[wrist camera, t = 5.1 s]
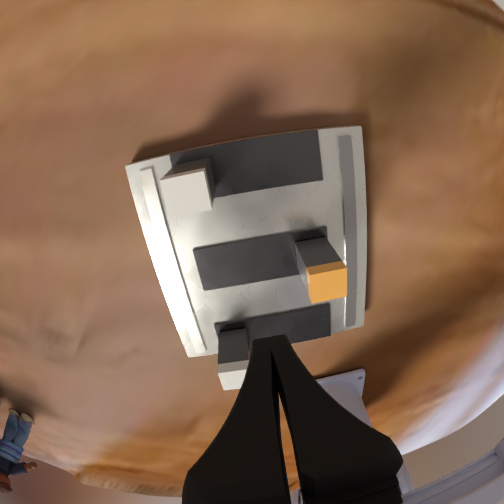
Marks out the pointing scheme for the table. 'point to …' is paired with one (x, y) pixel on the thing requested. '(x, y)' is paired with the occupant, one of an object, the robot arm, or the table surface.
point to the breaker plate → (259, 235)
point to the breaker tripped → (321, 270)
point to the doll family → (14, 448)
